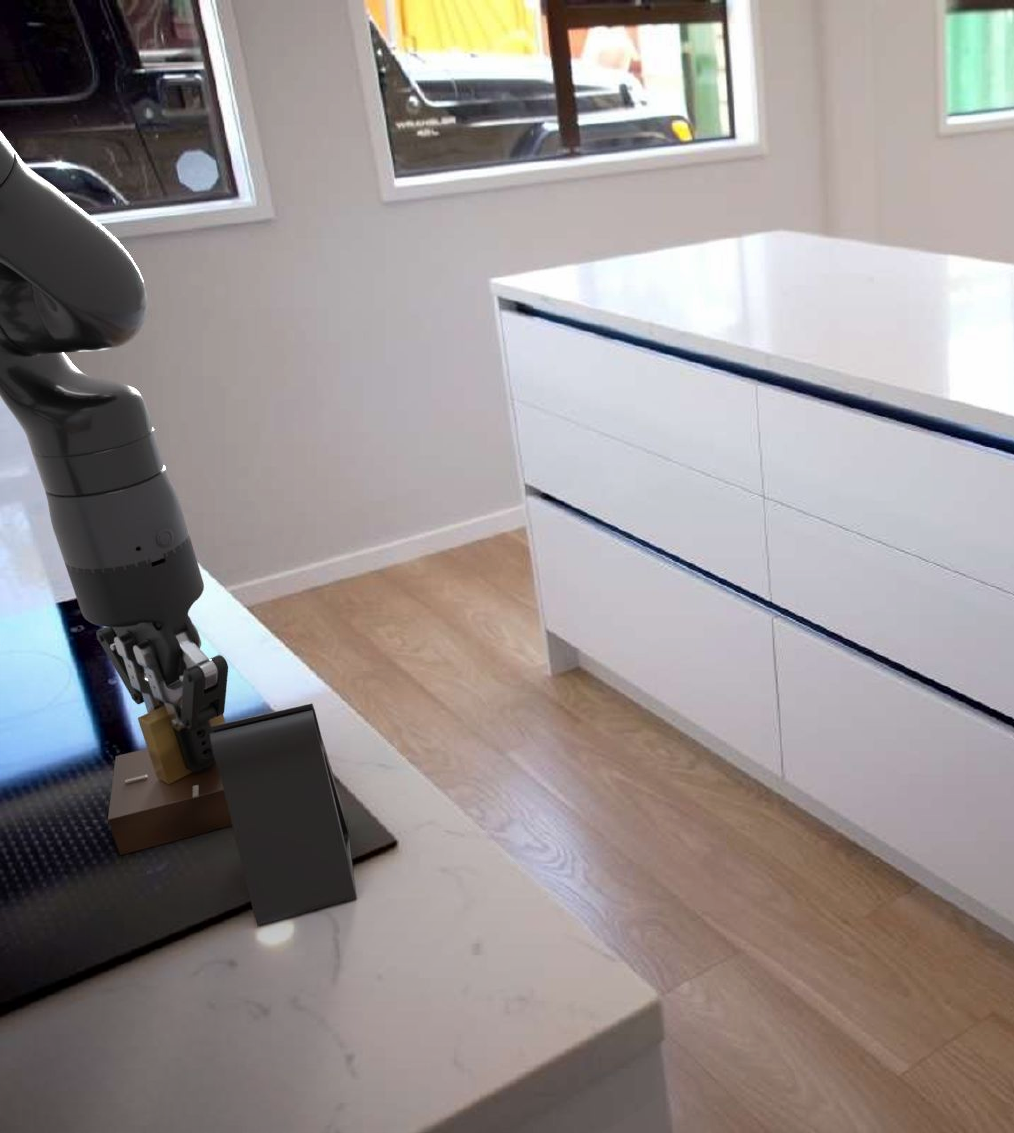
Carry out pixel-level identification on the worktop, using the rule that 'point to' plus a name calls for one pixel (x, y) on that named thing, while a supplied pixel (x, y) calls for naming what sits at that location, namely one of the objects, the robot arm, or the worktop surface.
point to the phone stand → (285, 812)
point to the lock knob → (166, 744)
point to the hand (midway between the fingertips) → (195, 761)
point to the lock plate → (162, 804)
